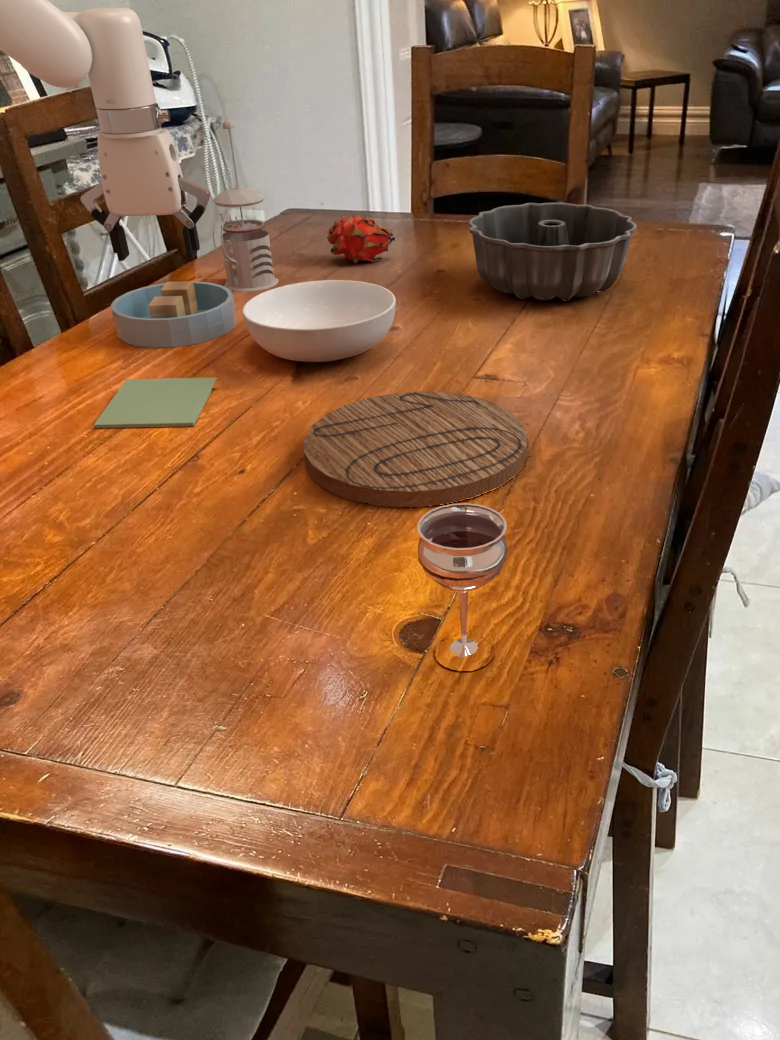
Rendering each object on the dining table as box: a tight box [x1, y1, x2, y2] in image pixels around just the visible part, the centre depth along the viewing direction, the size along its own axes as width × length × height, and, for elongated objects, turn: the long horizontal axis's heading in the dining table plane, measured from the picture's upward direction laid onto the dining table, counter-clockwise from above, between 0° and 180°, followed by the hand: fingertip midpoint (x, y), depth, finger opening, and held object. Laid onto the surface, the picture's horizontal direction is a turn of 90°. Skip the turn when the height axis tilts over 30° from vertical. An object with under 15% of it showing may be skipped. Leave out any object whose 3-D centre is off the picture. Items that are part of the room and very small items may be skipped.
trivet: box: [303, 391, 529, 509], centre depth 105 cm, size 25×25×2 cm
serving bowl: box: [241, 279, 397, 363], centre depth 129 cm, size 21×21×7 cm
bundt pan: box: [468, 202, 638, 302], centre depth 150 cm, size 26×26×10 cm
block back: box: [160, 280, 199, 316], centre depth 141 cm, size 4×4×5 cm
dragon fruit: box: [326, 214, 396, 264], centre depth 165 cm, size 8×8×12 cm
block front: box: [148, 296, 186, 318], centre depth 135 cm, size 4×4×5 cm
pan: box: [110, 281, 238, 349], centre depth 138 cm, size 17×17×4 cm
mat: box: [93, 376, 218, 429], centre depth 118 cm, size 12×14×1 cm
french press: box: [212, 119, 279, 292], centre depth 149 cm, size 10×12×25 cm
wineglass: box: [416, 502, 508, 658], centre depth 72 cm, size 7×7×12 cm
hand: (158, 257), depth 130 cm, fingers open, 9 cm apart
